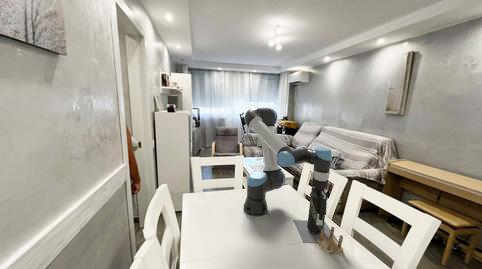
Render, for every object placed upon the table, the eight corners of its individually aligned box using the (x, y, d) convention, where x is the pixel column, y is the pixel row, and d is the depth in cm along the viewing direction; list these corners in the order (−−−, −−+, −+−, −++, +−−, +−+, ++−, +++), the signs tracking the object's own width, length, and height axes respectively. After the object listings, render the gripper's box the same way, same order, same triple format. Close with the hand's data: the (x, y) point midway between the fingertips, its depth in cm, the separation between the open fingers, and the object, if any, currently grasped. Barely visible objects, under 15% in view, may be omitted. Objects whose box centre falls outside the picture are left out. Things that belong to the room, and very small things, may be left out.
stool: (327, 254, 88) (330, 240, 86) (317, 241, 95) (319, 228, 93) (342, 251, 90) (345, 237, 88) (331, 238, 97) (333, 225, 95)
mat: (303, 243, 94) (303, 242, 94) (293, 221, 112) (293, 220, 112) (340, 244, 94) (340, 243, 94) (324, 221, 112) (324, 221, 112)
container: (303, 229, 102) (307, 193, 99) (310, 221, 109) (313, 187, 106) (320, 236, 97) (325, 199, 93) (326, 227, 104) (330, 193, 100)
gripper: (338, 187, 88) (332, 233, 92) (319, 171, 108) (315, 208, 112) (321, 187, 88) (316, 232, 92) (306, 170, 108) (302, 208, 112)
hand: (315, 219), depth 102 cm, fingers closed on container, 8 cm apart
